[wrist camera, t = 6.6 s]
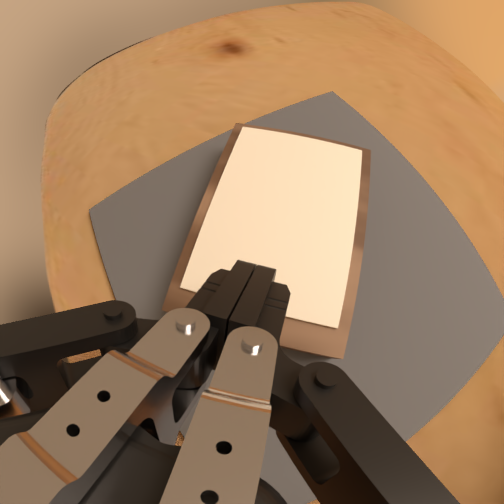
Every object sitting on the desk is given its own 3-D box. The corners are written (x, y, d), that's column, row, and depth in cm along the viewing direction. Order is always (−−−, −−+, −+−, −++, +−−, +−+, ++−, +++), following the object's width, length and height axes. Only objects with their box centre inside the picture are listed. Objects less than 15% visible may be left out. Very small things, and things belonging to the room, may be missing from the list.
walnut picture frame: (178, 317, 17) (239, 148, 22) (331, 358, 16) (360, 174, 20) (160, 309, 14) (235, 121, 19) (344, 359, 13) (371, 148, 17)
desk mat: (331, 94, 25) (332, 91, 24) (509, 320, 15) (513, 319, 15) (91, 212, 22) (88, 209, 21) (252, 522, 12) (251, 525, 12)
